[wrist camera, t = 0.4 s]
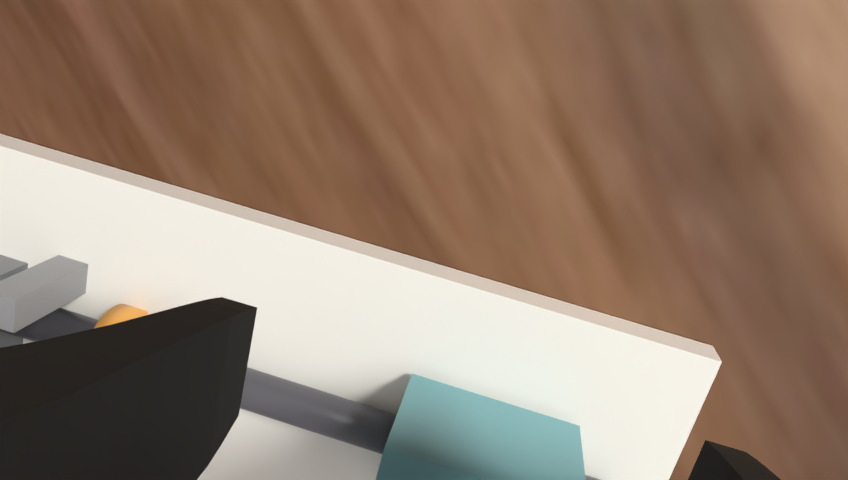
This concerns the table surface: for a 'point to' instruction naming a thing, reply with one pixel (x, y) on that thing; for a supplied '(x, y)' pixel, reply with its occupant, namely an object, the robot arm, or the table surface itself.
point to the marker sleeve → (476, 439)
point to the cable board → (331, 324)
